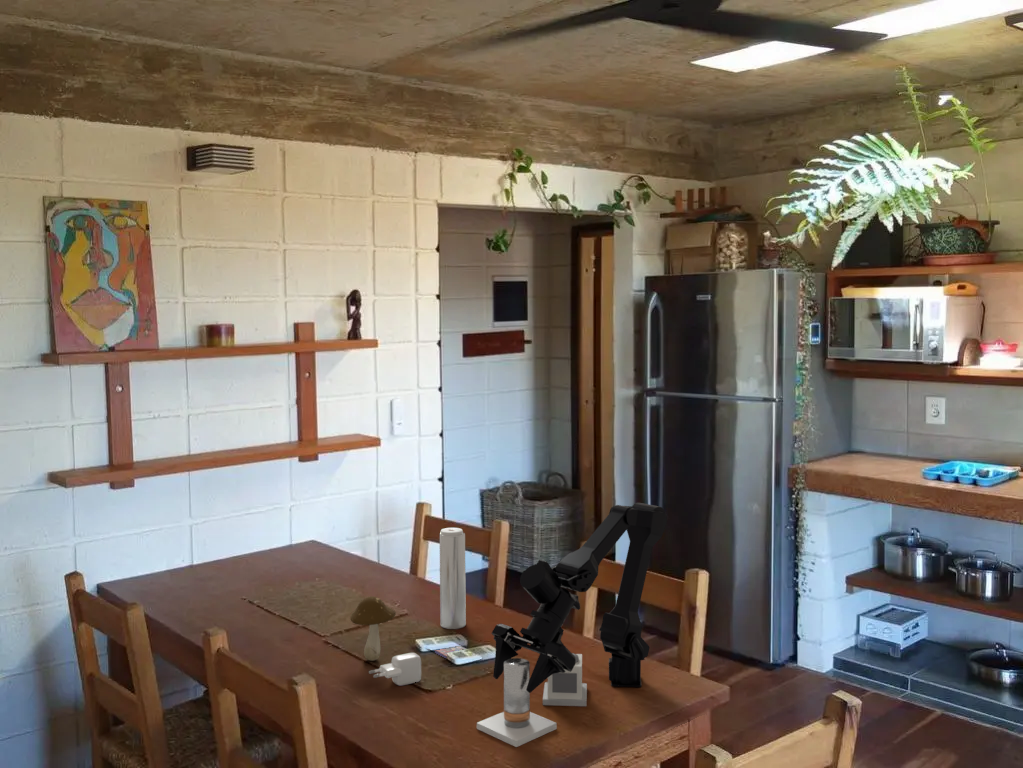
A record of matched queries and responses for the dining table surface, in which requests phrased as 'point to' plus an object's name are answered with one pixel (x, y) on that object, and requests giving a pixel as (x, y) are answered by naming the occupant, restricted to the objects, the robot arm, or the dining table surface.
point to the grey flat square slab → (516, 729)
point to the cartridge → (516, 693)
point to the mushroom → (372, 622)
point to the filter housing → (566, 687)
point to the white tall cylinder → (452, 578)
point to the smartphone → (448, 650)
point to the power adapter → (401, 669)
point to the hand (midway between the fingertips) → (511, 684)
